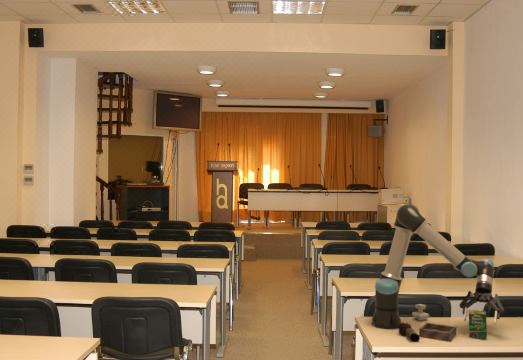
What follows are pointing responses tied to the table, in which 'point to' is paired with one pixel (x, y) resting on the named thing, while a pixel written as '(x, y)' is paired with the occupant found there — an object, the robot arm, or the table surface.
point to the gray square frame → (437, 332)
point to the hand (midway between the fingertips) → (479, 322)
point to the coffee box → (477, 324)
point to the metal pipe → (408, 332)
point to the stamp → (420, 312)
